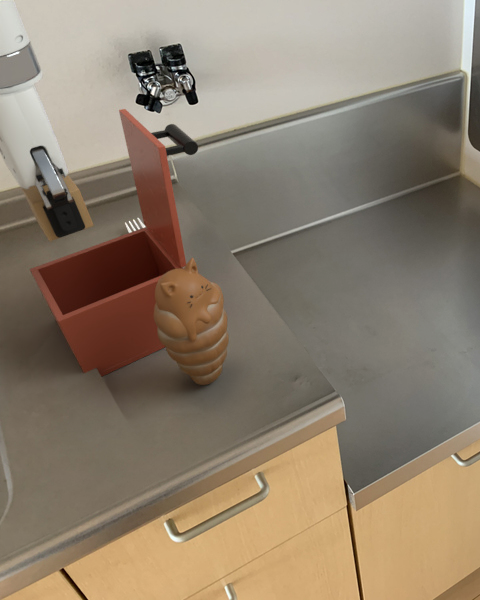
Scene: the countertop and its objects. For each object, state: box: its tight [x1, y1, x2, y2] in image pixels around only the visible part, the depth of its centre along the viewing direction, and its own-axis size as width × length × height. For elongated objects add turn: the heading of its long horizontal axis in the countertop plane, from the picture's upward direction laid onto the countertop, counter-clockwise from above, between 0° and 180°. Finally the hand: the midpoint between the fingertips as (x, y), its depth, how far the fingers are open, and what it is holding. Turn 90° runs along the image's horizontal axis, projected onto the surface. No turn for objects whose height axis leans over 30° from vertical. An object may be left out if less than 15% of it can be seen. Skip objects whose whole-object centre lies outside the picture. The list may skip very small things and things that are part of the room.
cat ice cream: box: [154, 257, 230, 386], centre depth 73 cm, size 9×8×18 cm
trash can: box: [29, 227, 184, 377], centre depth 82 cm, size 16×13×11 cm
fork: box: [124, 217, 146, 233], centre depth 98 cm, size 3×20×2 cm, turn 39°
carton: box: [20, 174, 94, 242], centre depth 71 cm, size 5×5×5 cm
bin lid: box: [118, 108, 199, 268], centre depth 78 cm, size 16×13×6 cm
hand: (63, 220), depth 72 cm, fingers closed on carton, 5 cm apart
